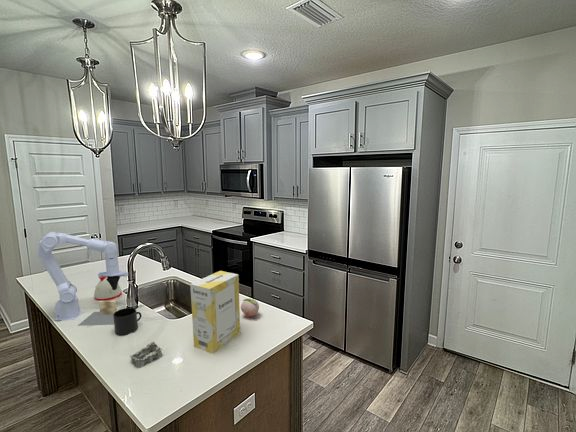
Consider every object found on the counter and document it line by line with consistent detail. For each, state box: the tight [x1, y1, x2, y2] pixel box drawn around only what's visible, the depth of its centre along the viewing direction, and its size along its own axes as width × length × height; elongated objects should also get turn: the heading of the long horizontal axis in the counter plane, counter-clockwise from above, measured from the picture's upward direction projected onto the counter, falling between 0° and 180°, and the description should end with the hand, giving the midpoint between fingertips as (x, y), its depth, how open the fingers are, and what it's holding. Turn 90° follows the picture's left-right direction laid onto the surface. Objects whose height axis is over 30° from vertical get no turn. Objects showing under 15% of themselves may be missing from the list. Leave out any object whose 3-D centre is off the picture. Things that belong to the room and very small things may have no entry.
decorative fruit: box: [240, 298, 260, 318], centre depth 154 cm, size 9×8×10 cm
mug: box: [113, 307, 142, 336], centre depth 143 cm, size 9×12×9 cm
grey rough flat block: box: [129, 341, 163, 368], centre depth 122 cm, size 11×8×4 cm
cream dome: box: [93, 277, 123, 302], centre depth 178 cm, size 14×14×15 cm
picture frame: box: [77, 311, 114, 327], centre depth 153 cm, size 18×14×1 cm
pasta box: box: [189, 270, 241, 355], centre depth 133 cm, size 18×10×28 cm, turn 151°
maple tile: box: [98, 300, 118, 315], centre depth 157 cm, size 8×1×7 cm, turn 93°
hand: (114, 289), depth 163 cm, fingers closed
